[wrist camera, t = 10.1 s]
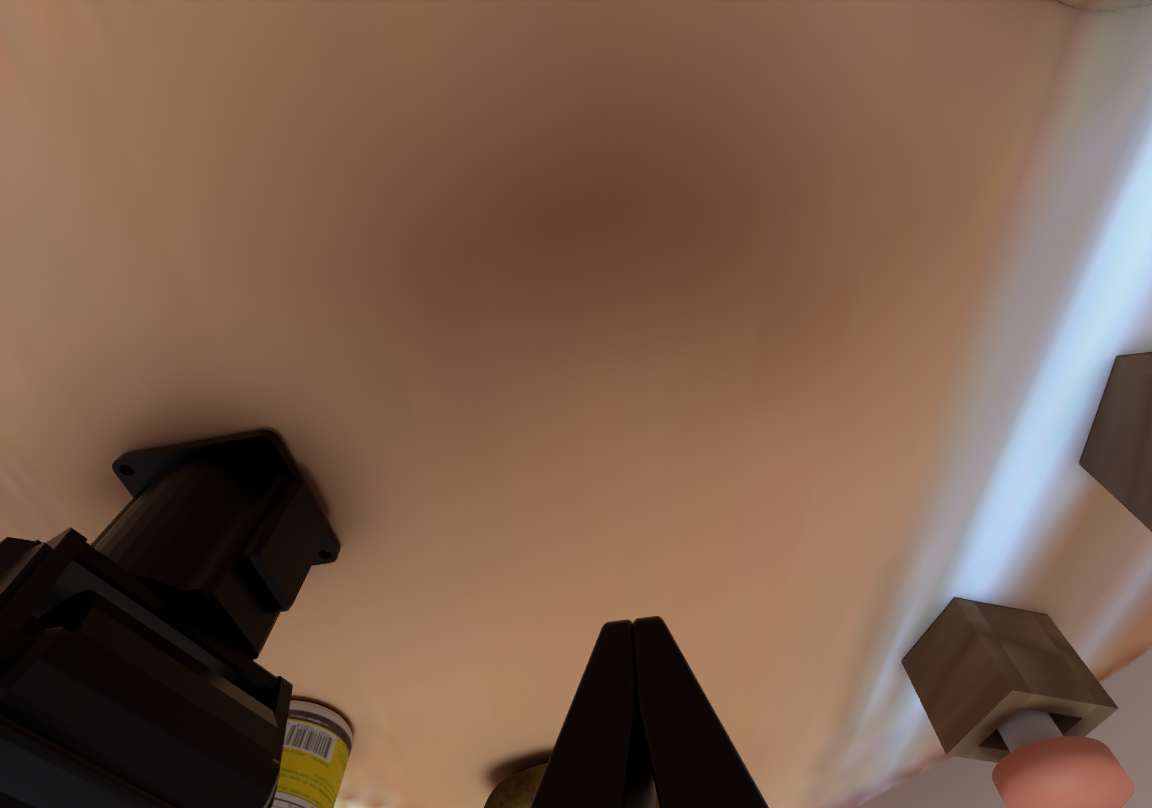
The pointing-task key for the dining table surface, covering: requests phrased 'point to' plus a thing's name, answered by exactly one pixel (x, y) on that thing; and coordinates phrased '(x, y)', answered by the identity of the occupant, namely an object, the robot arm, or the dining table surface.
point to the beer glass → (1107, 4)
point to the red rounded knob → (1056, 767)
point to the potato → (520, 789)
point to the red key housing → (1000, 677)
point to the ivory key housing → (1125, 436)
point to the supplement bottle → (312, 757)
